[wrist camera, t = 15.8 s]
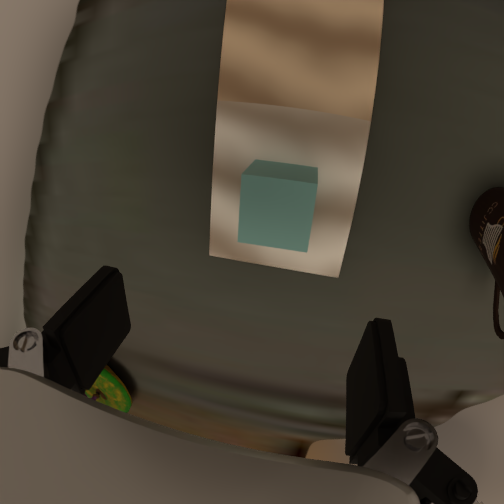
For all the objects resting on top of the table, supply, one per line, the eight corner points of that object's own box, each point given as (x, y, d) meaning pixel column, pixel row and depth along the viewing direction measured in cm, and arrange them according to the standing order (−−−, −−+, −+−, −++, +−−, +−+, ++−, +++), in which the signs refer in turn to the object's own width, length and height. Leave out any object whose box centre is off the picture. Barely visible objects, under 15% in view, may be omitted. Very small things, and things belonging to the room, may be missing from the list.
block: (255, 159, 25) (241, 174, 21) (317, 167, 25) (317, 184, 20) (250, 216, 28) (237, 242, 23) (309, 225, 27) (307, 252, 23)
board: (236, -47, 18) (233, -51, 17) (382, -32, 16) (385, -36, 15) (212, 250, 31) (209, 255, 30) (337, 272, 30) (338, 277, 29)
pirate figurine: (59, 343, 45) (10, 404, 32) (106, 337, 41) (50, 415, 28) (105, 399, 50) (68, 460, 37) (155, 401, 46) (118, 476, 33)
